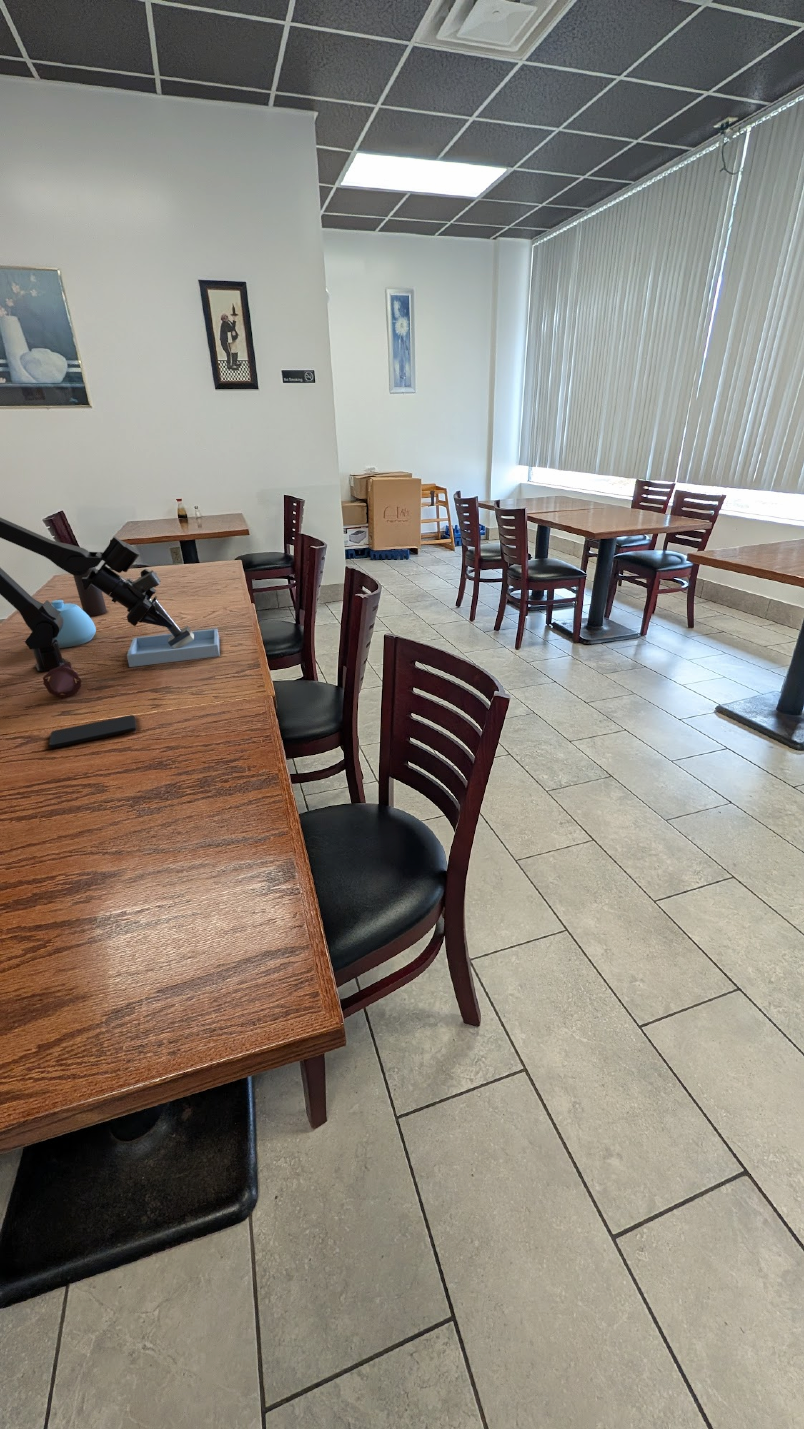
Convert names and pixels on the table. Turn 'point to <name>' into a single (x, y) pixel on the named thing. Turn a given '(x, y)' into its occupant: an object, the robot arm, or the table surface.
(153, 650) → the tray
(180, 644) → the brush
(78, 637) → the sugar bowl
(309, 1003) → the table surface
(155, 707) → the table surface
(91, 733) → the smartphone
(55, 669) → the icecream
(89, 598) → the bottle
